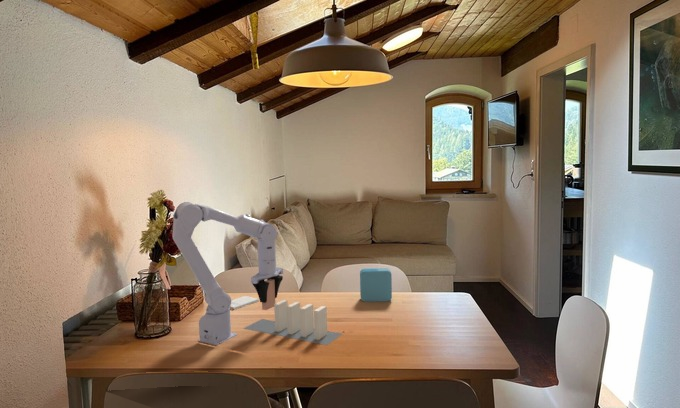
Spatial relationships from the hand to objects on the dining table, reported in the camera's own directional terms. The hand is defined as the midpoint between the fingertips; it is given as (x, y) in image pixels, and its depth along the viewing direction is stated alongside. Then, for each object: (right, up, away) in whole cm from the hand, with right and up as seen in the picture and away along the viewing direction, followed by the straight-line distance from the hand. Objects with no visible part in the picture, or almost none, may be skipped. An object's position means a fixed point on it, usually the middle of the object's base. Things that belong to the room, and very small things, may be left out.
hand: (268, 299), depth 156 cm
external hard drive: (-15, -8, +28) cm, 33 cm away
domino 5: (+18, -10, -9) cm, 22 cm away
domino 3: (+9, -9, -4) cm, 14 cm away
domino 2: (+5, -9, -2) cm, 10 cm away
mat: (+8, -10, -3) cm, 13 cm away
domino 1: (0, -3, 0) cm, 3 cm away
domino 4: (+13, -10, -6) cm, 18 cm away
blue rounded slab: (+38, -6, +29) cm, 48 cm away
